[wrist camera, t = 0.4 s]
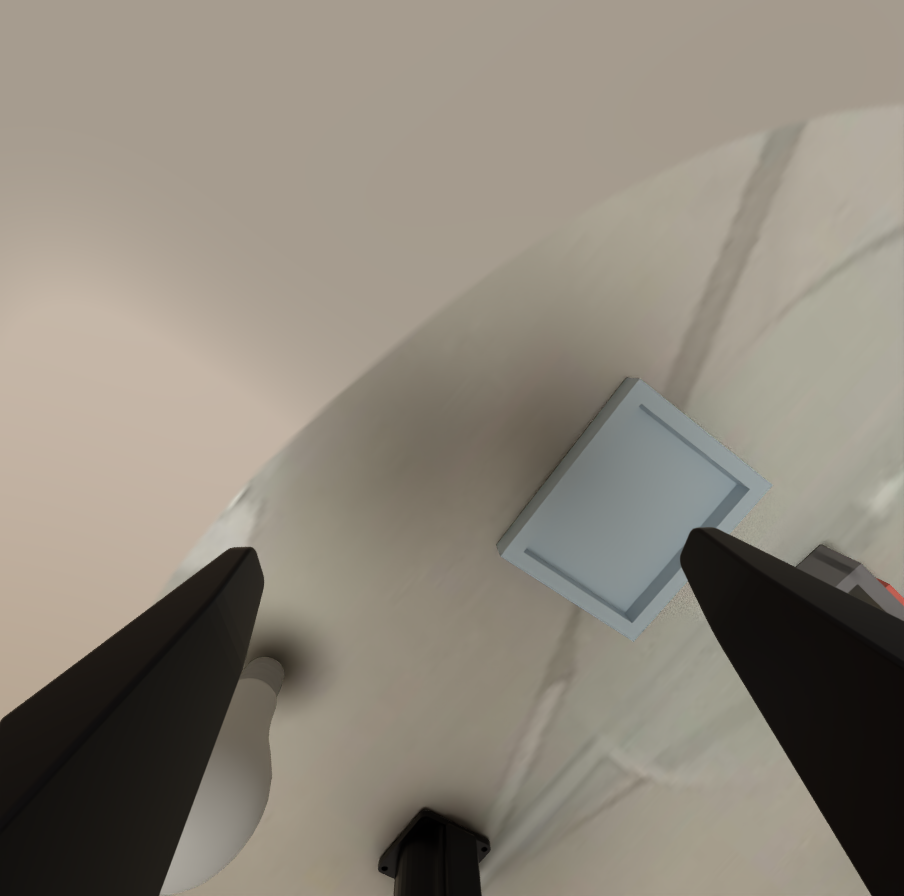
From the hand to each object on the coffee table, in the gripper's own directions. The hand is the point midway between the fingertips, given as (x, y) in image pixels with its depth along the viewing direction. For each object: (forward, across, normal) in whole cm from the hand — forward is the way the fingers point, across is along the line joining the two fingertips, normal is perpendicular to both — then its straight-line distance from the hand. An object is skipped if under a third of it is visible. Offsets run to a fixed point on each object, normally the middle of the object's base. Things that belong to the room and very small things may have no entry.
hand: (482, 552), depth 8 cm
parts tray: (+13, -12, +10) cm, 20 cm away
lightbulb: (+11, +12, +20) cm, 25 cm away
